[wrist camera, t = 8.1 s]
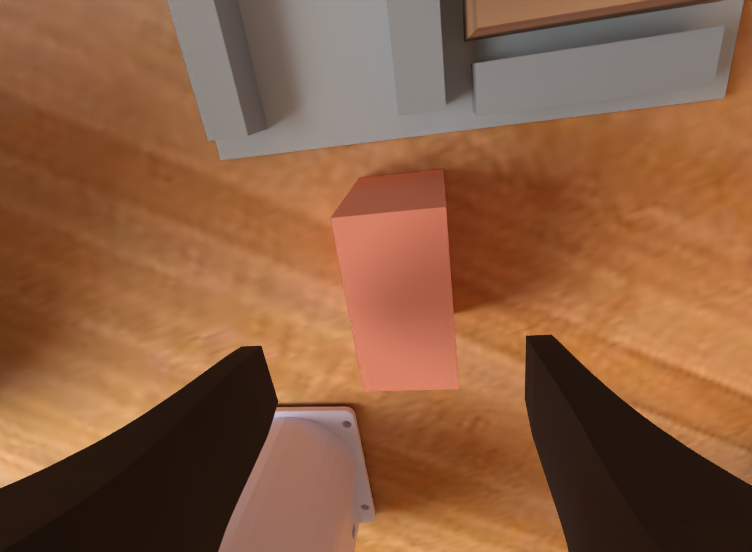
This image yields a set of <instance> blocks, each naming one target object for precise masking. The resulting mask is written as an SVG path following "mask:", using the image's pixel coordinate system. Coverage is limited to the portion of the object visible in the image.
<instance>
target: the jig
mask: <svg viewBox="0 0 752 552" xmlns="http://www.w3.org/2000/svg"><path fill="white" fill-rule="evenodd" d="M743 3H744V0H724V1H720V2H713V3H707V4H701V5H694V6H688V7H682V8H675V9H669V10H663V11H656V12H650V13H644V14H638V15H631V16H625V17H619V18H612V19H606V20H600V21H593V22H587V23H581V24H574V25H568V26H562V27H555V28H549V29H543V30H537V31H530V32H524V33H518V34H511V35H505V36H499V37H492V38H486V39H480V40H473V41H467V42H464V28H463V3H462V0H167V4H168V7H169V11H170V14H171V18H172V21H173V24H174V28H175V31H176V35H177V38H178V41H179V45H180V48H181V52H182V55H183V58H184V62H185V65H186V69H187V72H188V75H189V79H190V82H191V86H192V89H193V93H194V96H195V99H196V103H197V106H198V110H199V113H200V116H201V120H202V123H203V127H204V130H205V133H206V137H207V140H208V141H212V140H215V143H216V146H217V150H218V153H219V157H220V160H221V161H222V160H230V159H238V158H246V157H254V156H262V155H270V154H278V153H286V152H294V151H303V150H311V149H319V148H327V147H335V146H343V145H351V144H359V143H367V142H375V141H384V140H392V139H400V138H408V137H416V136H424V135H432V134H440V133H448V132H456V131H465V130H473V129H481V128H489V127H497V126H505V125H513V124H521V123H529V122H537V121H546V120H554V119H562V118H570V117H578V116H586V115H594V114H602V113H610V112H618V111H627V110H635V109H643V108H651V107H659V106H667V105H675V104H683V103H691V102H699V101H708V100H716V99H724V98H725V93H726V88H727V83H728V78H729V73H730V68H731V63H732V58H733V53H734V48H735V43H736V38H737V33H738V28H739V23H740V18H741V13H742V8H743Z"/></svg>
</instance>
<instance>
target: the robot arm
mask: <svg viewBox="0 0 752 552" xmlns="http://www.w3.org/2000/svg"><path fill="white" fill-rule="evenodd" d="M525 401H526V406H527V412H528V417H529V422H530V426H531V431H532V436H533V439H534V442H535V445H536V448H537V451H538V454H539V457H540V461H541V464H542V467H543V470H544V473H545V476H546V479H547V482H548V485H549V488H550V491H551V494H552V497H553V500H554V503H555V506H556V509H557V512H558V515H559V518H560V521H561V525H562V528H563V532H564V535H565V539H566V542H567V546H568V551H569V552H752V486H751V485H750V484H748V483H746V482H744V481H742V480H741V479H739V478H737V477H736V476H734V475H732V474H731V473H729V472H727V471H726V470H724V469H722V468H720V467H719V466H717V465H715V464H714V463H712V462H710V461H709V460H707V459H705V458H704V457H702V456H701V455H699V454H697V453H696V452H694V451H693V450H691V449H690V448H688V447H686V446H685V445H684V444H682V443H681V442H679V441H678V440H676V439H675V438H673V437H672V436H670V435H669V434H667V433H666V432H665V431H663V430H662V429H660V428H659V427H657V426H656V425H654V424H653V423H652V422H650V421H649V420H648V419H646V418H645V417H643V416H642V415H641V414H640V413H638V412H637V411H636V410H635V409H633V408H632V407H631V406H629V405H628V404H627V403H626V402H624V401H623V400H622V399H621V398H619V397H618V396H617V395H616V394H615V393H614V392H612V391H611V390H610V389H609V388H608V387H607V386H606V385H604V384H603V383H602V382H601V381H600V380H599V379H598V378H597V377H595V376H594V375H593V374H592V373H591V372H590V371H589V370H588V369H587V368H586V367H585V366H583V365H582V364H581V363H580V362H579V361H578V360H577V359H576V358H575V357H574V356H573V355H572V354H571V353H570V352H569V351H568V350H567V349H566V348H565V347H564V346H563V345H562V344H561V343H560V342H559V341H558V340H557V339H556V338H555V337H553V336H552V335H534V336H526V370H525ZM277 404H278V399H277V396H276V393H275V389H274V386H273V383H272V380H271V376H270V373H269V370H268V366H267V363H266V360H265V356H264V353H263V350H262V346H246V347H240V348H239V349H237V350H235V351H234V352H232V353H231V354H229V355H228V356H226V357H225V358H223V359H222V360H221V361H219V362H218V363H216V364H215V365H214V366H212V367H211V368H209V369H208V370H207V371H205V372H204V373H203V374H201V375H200V376H198V377H197V378H196V379H194V380H193V381H191V382H190V383H189V384H187V385H186V386H185V387H183V388H182V389H180V390H179V391H178V392H176V393H175V394H173V395H172V396H170V397H169V398H167V399H166V400H164V401H163V402H161V403H160V404H158V405H157V406H155V407H154V408H152V409H151V410H149V411H148V412H146V413H145V414H143V415H142V416H140V417H139V418H137V419H136V420H134V421H132V422H131V423H129V424H127V425H126V426H124V427H122V428H121V429H119V430H117V431H116V432H114V433H112V434H110V435H109V436H107V437H105V438H103V439H102V440H100V441H98V442H96V443H94V444H93V445H91V446H89V447H87V448H85V449H83V450H81V451H79V452H77V453H75V454H73V455H71V456H69V457H67V458H65V459H63V460H61V461H59V462H57V463H55V464H53V465H51V466H49V467H47V468H45V469H43V470H41V471H39V472H36V473H34V474H32V475H30V476H28V477H25V478H23V479H21V480H19V481H16V482H14V483H12V484H9V485H7V486H5V487H3V488H0V552H354V551H355V545H356V539H357V533H358V527H359V522H372V521H374V519H375V508H374V503H373V498H372V493H371V488H370V483H369V479H368V474H367V469H366V464H365V459H364V454H363V449H362V444H361V439H360V434H359V430H358V425H357V420H356V415H355V412H354V410H353V409H352V408H350V407H345V406H341V407H277ZM345 421H349V422H350V423H347V422H345Z"/></svg>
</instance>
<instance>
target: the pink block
mask: <svg viewBox="0 0 752 552" xmlns="http://www.w3.org/2000/svg"><path fill="white" fill-rule="evenodd" d="M331 223H332V228H333V233H334V239H335V244H336V249H337V254H338V259H339V265H340V270H341V275H342V280H343V285H344V291H345V296H346V301H347V306H348V311H349V317H350V322H351V327H352V332H353V337H354V342H355V348H356V353H357V358H358V363H359V368H360V374H361V379H362V384H363V389H364V391H404V390H453V389H459V384H458V369H457V355H456V340H455V326H454V311H453V297H452V283H451V268H450V254H449V240H448V226H447V211H446V197H445V183H444V169H436V170H428V171H419V172H410V173H401V174H392V175H383V176H374V177H365V178H359V179H358V180H357V182H356V183H355V184H354V186H353V187H352V189H351V190H350V191H349V193H348V194H347V196H346V197H345V198H344V200H343V201H342V203H341V204H340V205H339V207H338V208H337V210H336V211H335V212H334V214H333V215H332V217H331Z"/></svg>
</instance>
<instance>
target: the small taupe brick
mask: <svg viewBox="0 0 752 552" xmlns="http://www.w3.org/2000/svg"><path fill="white" fill-rule="evenodd" d="M720 1H724V0H462V3H463V28H464V42H467V41H473V40H480V39H486V38H492V37H499V36H505V35H511V34H518V33H524V32H530V31H537V30H543V29H549V28H555V27H562V26H568V25H574V24H581V23H587V22H593V21H600V20H606V19H612V18H619V17H625V16H631V15H638V14H644V13H650V12H656V11H663V10H669V9H675V8H682V7H688V6H694V5H701V4H707V3H713V2H720Z"/></svg>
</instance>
